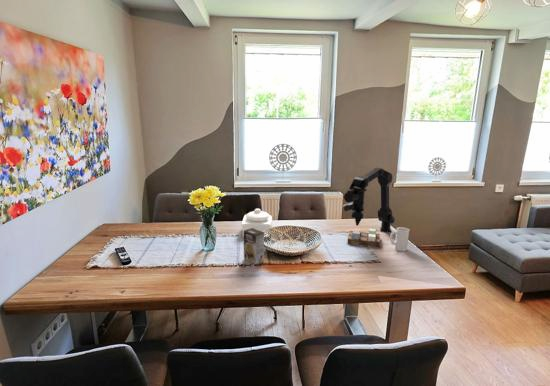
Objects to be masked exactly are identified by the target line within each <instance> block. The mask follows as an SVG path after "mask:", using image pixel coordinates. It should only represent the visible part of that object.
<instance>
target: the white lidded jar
mask: <svg viewBox="0 0 550 386" xmlns="http://www.w3.org/2000/svg"><path fill="white" fill-rule="evenodd" d="M241 226H242V238H244V230H247V229H251V228H254V229H256V230H259V231H262V232H263V231H264V230H266V229H270V228H271V227H272V228H273V217H272V214H271V215H270V214H269V213H268V212H266V211H262V210H261V208H255V209H254V210H252V211H249V212H248V213H246V214H244V216H243V219H242V221H241Z"/></svg>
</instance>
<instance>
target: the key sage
mask: <svg viewBox="0 0 550 386" xmlns="http://www.w3.org/2000/svg"><path fill="white" fill-rule="evenodd" d="M376 231H377V229H376V228H368V233H369V234H374V235H376V234H377V233H376ZM369 234H368V235H369Z"/></svg>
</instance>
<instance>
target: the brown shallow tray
mask: <svg viewBox="0 0 550 386" xmlns="http://www.w3.org/2000/svg"><path fill="white" fill-rule="evenodd" d="M352 234H353V230H349V232H348V235H347V242H346V243H347V245H354V246H360V245H361V247H363V246H364V247H372V248H380V244H381V239H380V238H381V235H380V233H376V239H375V242H374V241H368V234H369V232H364V231H363V232H362V231H360V238H359V240H356V239H352Z"/></svg>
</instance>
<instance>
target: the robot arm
mask: <svg viewBox="0 0 550 386" xmlns="http://www.w3.org/2000/svg"><path fill="white" fill-rule="evenodd" d="M376 178H377V183H378V184H379V186H380V208H379V210H377V218H378V221H380V222H381V226H380V228H379V230H380V232H384V233H392V230H391V229H392V227H391V224H394V223H395V221H396V219H395V217H394V215H393V211H392V209H391V208H390V185H391V183H392V182H393V174H392V173H391V172H389V171H387V170H385V169H384V168H382V167H374V168H373V169H371V170H370V171H369V172H367V173H366V174H364V175H359V176H356V177H354V178H353V180H352V182H351V184H350V186H349V188H348V190H347V191H346V192H345V193H344V195H343V199H344V201H345V202H346V203H345V204H343V206H342V207H343V212H348V211H352V212H351V218H352V219H354V221H355V225H356V226H359V225H360V223H361V221H362V219H364V210H365V206H364V204H365V193H366V192H367V190H368V189H366V188H367V187H368V186H369V183H370V182H372V181H374V180H375V179H376Z"/></svg>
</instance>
